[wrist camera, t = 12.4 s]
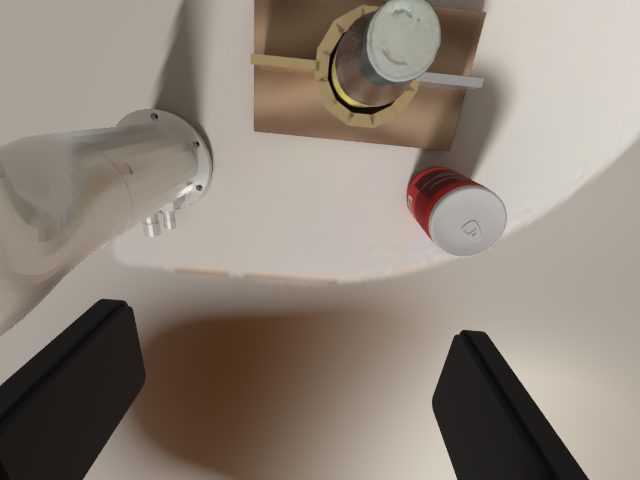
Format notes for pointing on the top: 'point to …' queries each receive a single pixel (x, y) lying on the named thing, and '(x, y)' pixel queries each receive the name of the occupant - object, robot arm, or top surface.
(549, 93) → the top surface
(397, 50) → the sauce bottle
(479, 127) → the top surface
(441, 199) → the canned food
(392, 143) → the walnut board
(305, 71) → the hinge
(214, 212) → the top surface
